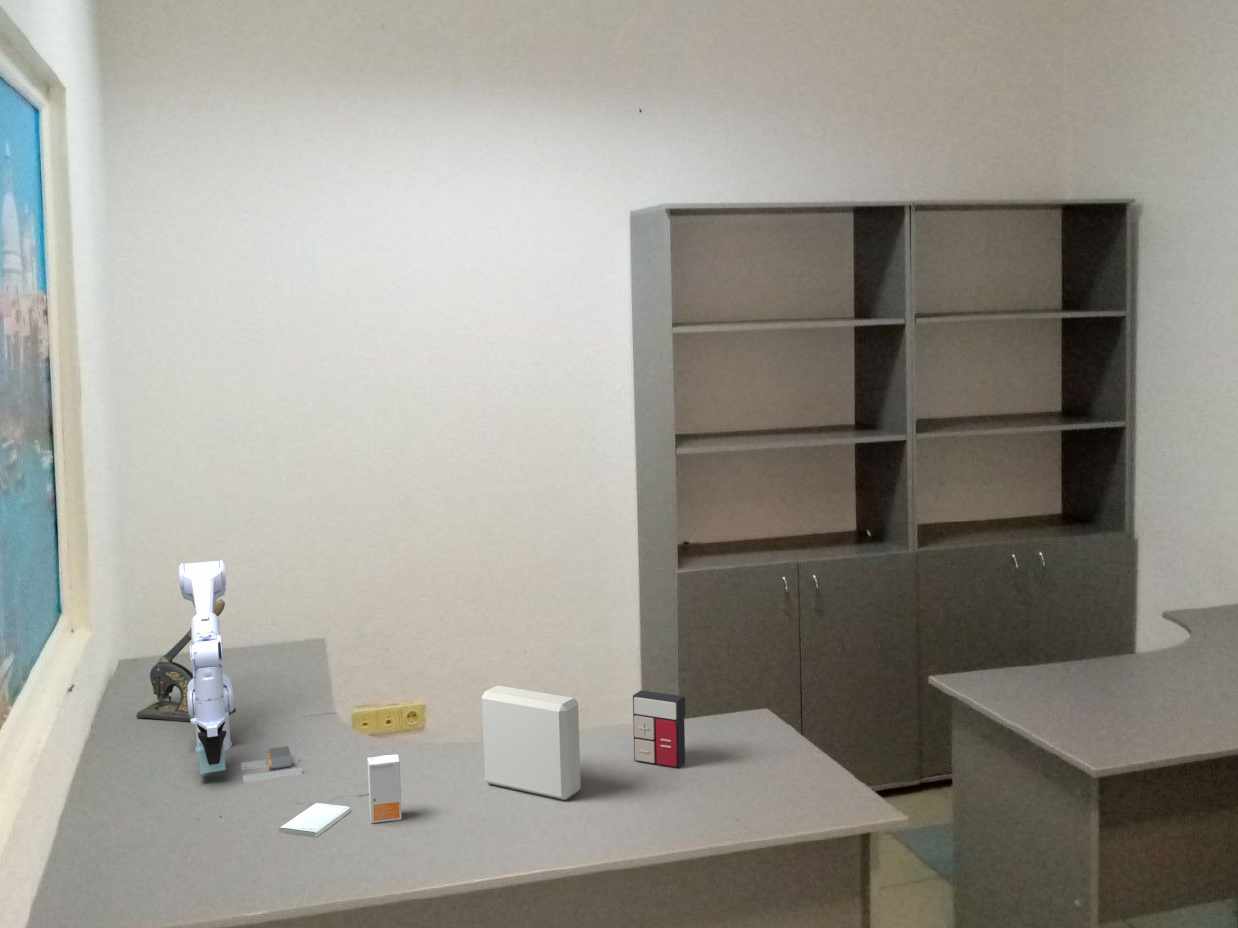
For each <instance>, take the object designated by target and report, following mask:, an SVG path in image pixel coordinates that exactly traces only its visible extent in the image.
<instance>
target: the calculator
mask: <svg viewBox="0 0 1238 928" xmlns="http://www.w3.org/2000/svg"><path fill="white" fill-rule="evenodd" d="M685 716H686V697H685V696H684V695H679V694H671V693H662V692H655V691H649V690H642V689H641V690H639V691H638V692H636V693H634V694H633V695H632V718H633V720H632V722H633V724H632V725H633V756H634V757H633V759H634V761H635V762H638V763H645V764H652V765H657V766H663V767H670V768H674V769H680V768H681V767H682V766H684V765H685V764H686V748H685V747H686V743H685V741H686V739H685V736H686V733H685V728H686V727H685Z"/></svg>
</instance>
